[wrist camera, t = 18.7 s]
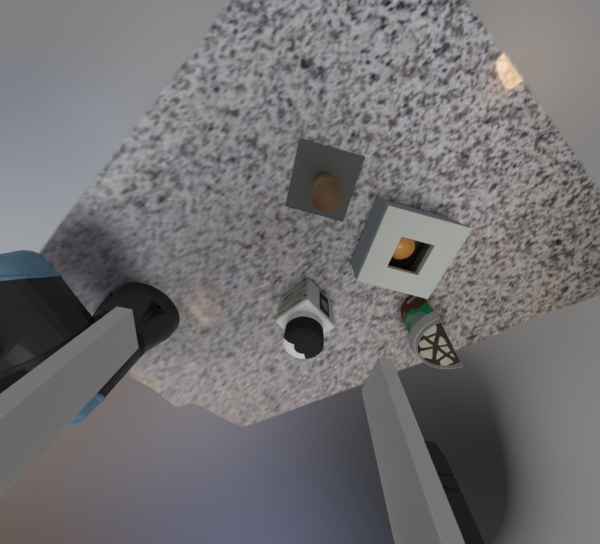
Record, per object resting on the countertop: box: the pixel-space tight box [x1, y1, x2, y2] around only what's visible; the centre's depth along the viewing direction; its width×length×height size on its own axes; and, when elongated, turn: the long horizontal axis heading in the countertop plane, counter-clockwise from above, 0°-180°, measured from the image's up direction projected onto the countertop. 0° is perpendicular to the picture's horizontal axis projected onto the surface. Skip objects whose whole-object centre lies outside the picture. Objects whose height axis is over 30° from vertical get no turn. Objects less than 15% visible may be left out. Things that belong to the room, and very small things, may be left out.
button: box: [392, 237, 415, 259], centre depth 37 cm, size 4×4×3 cm
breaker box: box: [351, 198, 472, 299], centre depth 36 cm, size 12×12×7 cm
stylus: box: [311, 172, 342, 213], centre depth 28 cm, size 3×3×15 cm
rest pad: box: [286, 139, 365, 221], centre depth 35 cm, size 10×10×1 cm
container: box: [275, 279, 334, 359], centre depth 40 cm, size 8×8×13 cm
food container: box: [401, 295, 463, 369], centre depth 41 cm, size 12×6×10 cm, turn 34°
